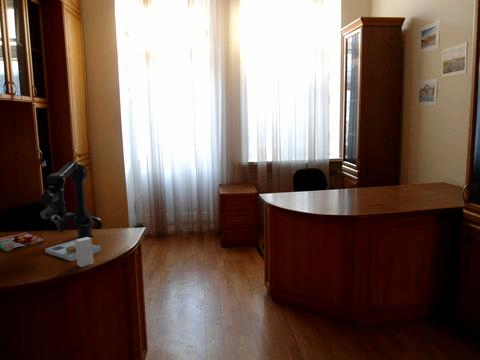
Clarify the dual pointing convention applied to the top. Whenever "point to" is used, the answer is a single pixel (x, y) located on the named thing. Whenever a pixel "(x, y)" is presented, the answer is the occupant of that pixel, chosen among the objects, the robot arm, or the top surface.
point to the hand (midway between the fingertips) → (60, 232)
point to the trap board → (61, 250)
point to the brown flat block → (71, 249)
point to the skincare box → (84, 251)
